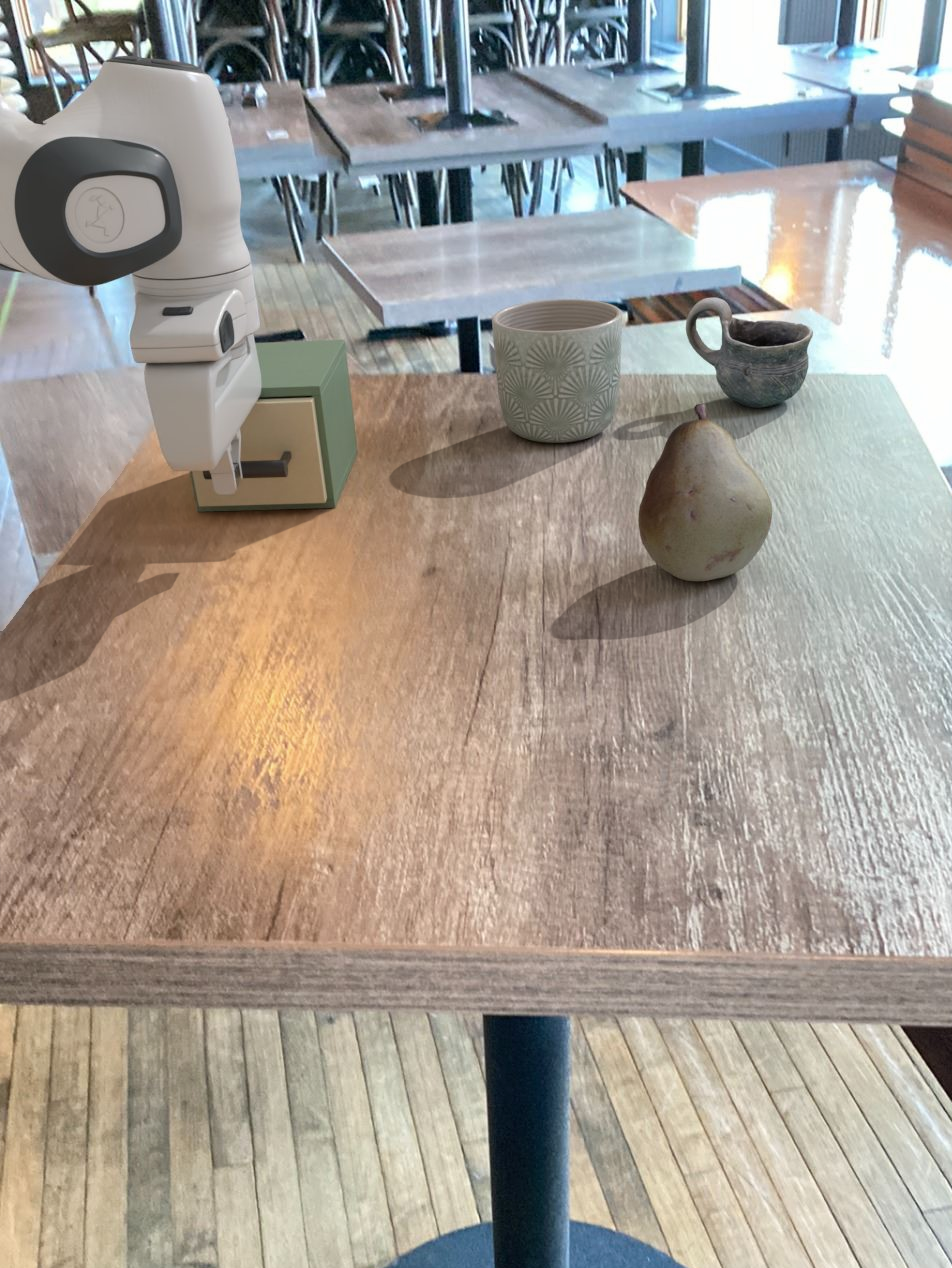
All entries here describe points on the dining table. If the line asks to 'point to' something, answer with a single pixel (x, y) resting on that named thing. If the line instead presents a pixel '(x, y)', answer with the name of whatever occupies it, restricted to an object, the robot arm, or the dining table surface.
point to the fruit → (703, 505)
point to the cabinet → (328, 383)
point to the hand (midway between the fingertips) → (229, 488)
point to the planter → (558, 367)
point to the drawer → (274, 457)
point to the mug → (754, 355)
